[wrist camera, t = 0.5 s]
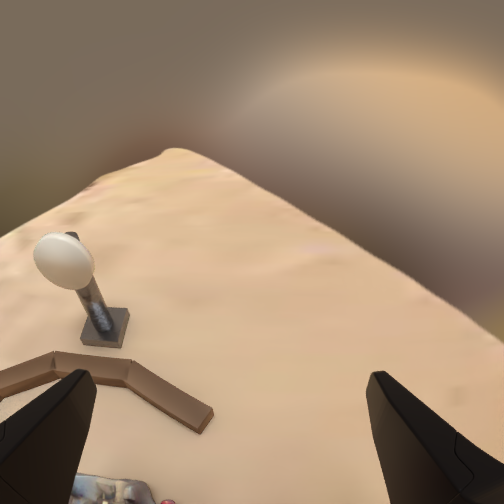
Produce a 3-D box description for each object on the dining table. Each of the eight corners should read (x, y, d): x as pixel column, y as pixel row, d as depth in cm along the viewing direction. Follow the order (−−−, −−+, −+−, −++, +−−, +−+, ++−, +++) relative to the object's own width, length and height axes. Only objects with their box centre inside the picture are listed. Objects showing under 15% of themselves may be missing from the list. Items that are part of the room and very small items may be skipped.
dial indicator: (125, 348, 27) (77, 239, 19) (79, 344, 27) (23, 241, 19) (134, 314, 30) (97, 206, 22) (90, 312, 30) (45, 210, 22)
